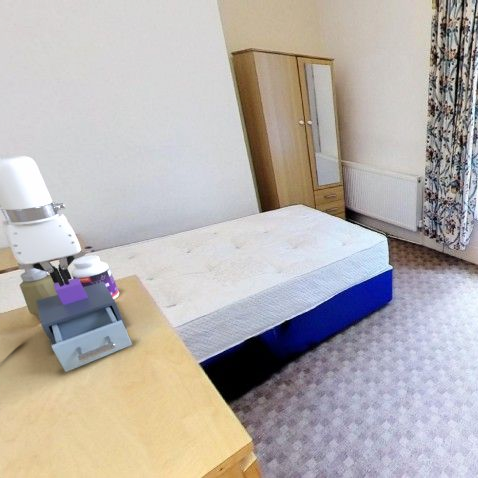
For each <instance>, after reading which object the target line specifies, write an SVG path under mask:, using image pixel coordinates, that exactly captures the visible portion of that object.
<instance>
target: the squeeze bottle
mask: <svg viewBox="0 0 478 478" xmlns="http://www.w3.org/2000/svg"><path fill="white" fill-rule="evenodd" d="M20 278H21V280H22V282H21V283H20V284H19V287H20V290H21V293H22V296H23V298H24V302H25V305H26V307H27V310H28V312H29V314H30V315H32V316H34V317H35V318H37V319H38V320H40V316H39V312H38V307H37V303H36V301H38V300H41V299H45V298H48V297H52V296H55V295H58V294H57V292H56V290H55V287H54V284H56V283H54V282H53V280H52V278H51V276H50V274H49V273H47V272H46V271H42V270H39V269H35V268H34V269H24V272H23V273H21V274H20ZM57 283H58V282H57Z"/></svg>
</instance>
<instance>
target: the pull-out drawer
mask: <svg viewBox="0 0 478 478" xmlns="http://www.w3.org/2000/svg"><path fill="white" fill-rule="evenodd" d="M123 322H124V321H123ZM123 322H122V320H120V321H117V320H116V318H115V316H114V314H113V312H112V311H111V309H110V307H105V308H102V309H99V310H96V311H93V312H90V313H87V314H84V315H81V316H78V317H75V318H72V319H69V320H66V321H63V322H60V323H57V324H54V325H52V329H53V333H54V337H55V340H56V343H57V344H54V345H52V344H51V349H52V351H53V353H54V354H55V356H56V358H57V360H58V361H59V363H60V365H61V367H62V369H63V370H64V372H65V373H67V372H70V371H72V370H74V369H77V368H80V367H82V366H85V365H86V364H87V365H88V364H90V363H92V362H94V361H96V360H98V359H101V358H104V357H106V356H109V355H111V354H113V353H116V352H118V351H121V350H123V349H125V348H128V347H131V346H132V345H133V343H132V341H131V339H130V335H129V334H128V331H127V328H126V329H125V327H124V324H125V323H124V324H123Z"/></svg>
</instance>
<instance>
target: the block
mask: <svg viewBox="0 0 478 478" xmlns="http://www.w3.org/2000/svg"><path fill="white" fill-rule="evenodd" d="M68 281H69V284H68V285H65V283H64V285H63V286H60V285H59V283H56V284H54V287H55V290H56V292H57V294H58V296H59V298H60V300H61V302H62V304H63V305H66V304H70V303H73V302H76V301H79V300H83V299H86V298H88V297H87V295H86V293H85V291H84V289H83V287H82V284H81V282H80V280H79V278H75V279H73V278H72V279H69V280H68Z"/></svg>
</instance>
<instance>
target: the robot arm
mask: <svg viewBox="0 0 478 478" xmlns="http://www.w3.org/2000/svg"><path fill="white" fill-rule="evenodd" d="M61 210H66V208H65V204H64V203H56V202H53V199H52V197H51V195H50V192H49V190H48V188H47V186H46V182H45V181H44V178H43V176H42V174H41V172H40V169H39V166H38V165H37V163H36V161H35V160H34V159H33V158H32V157H29V156H27V155H20V154H18V155H17V154H9V155H8V154H6V155H0V211H1V212H2V215H3V217H4V219H5V220H4V221H2V228H3V231H4V235H5V238H6V240H7V243H8V246H9V248H10V250H11V253H12V255H13V257H14V258H15V260H16V262H17V267H18V268H17V269H19V270H20V271H21V270H23V271H25V269H34V268H35V269H39V270H42V271H46V272H47V274H48V275H50V276H51V278H52V280H53V282H54V283H57V282H58V283H59V285H60V286H63V285H64V283H65V285H68V284H69V281H68V280H71V279H73V277H72V274H71V273H70V271H69V266H70V265H71V264H73V261H74V260H76V259H78V258H81V257H85V256H86V252H85V251H84V249H82V246H81V244H80V242H79V239H78V237H77V234H76V233H75V231H74V229H73V227H72V225H71V224H70V222H69V220H68V219H67V217H66V216H65V214H64V213H62V212H59V211H61ZM53 260H58V263H59V264H58V265H57V267H56V266H54V265H53V264H52V263H51V262H50V261H53Z"/></svg>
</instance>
